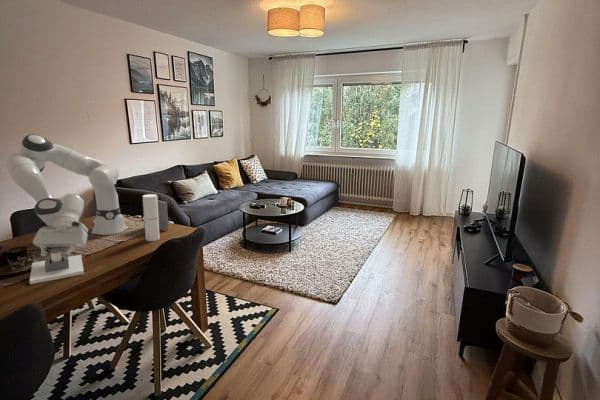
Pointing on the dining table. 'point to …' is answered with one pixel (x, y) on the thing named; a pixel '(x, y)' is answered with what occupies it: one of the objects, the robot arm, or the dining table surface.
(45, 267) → the socket block
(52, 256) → the plug
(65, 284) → the dining table surface
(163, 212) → the hip flask
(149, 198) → the cylindrical container
